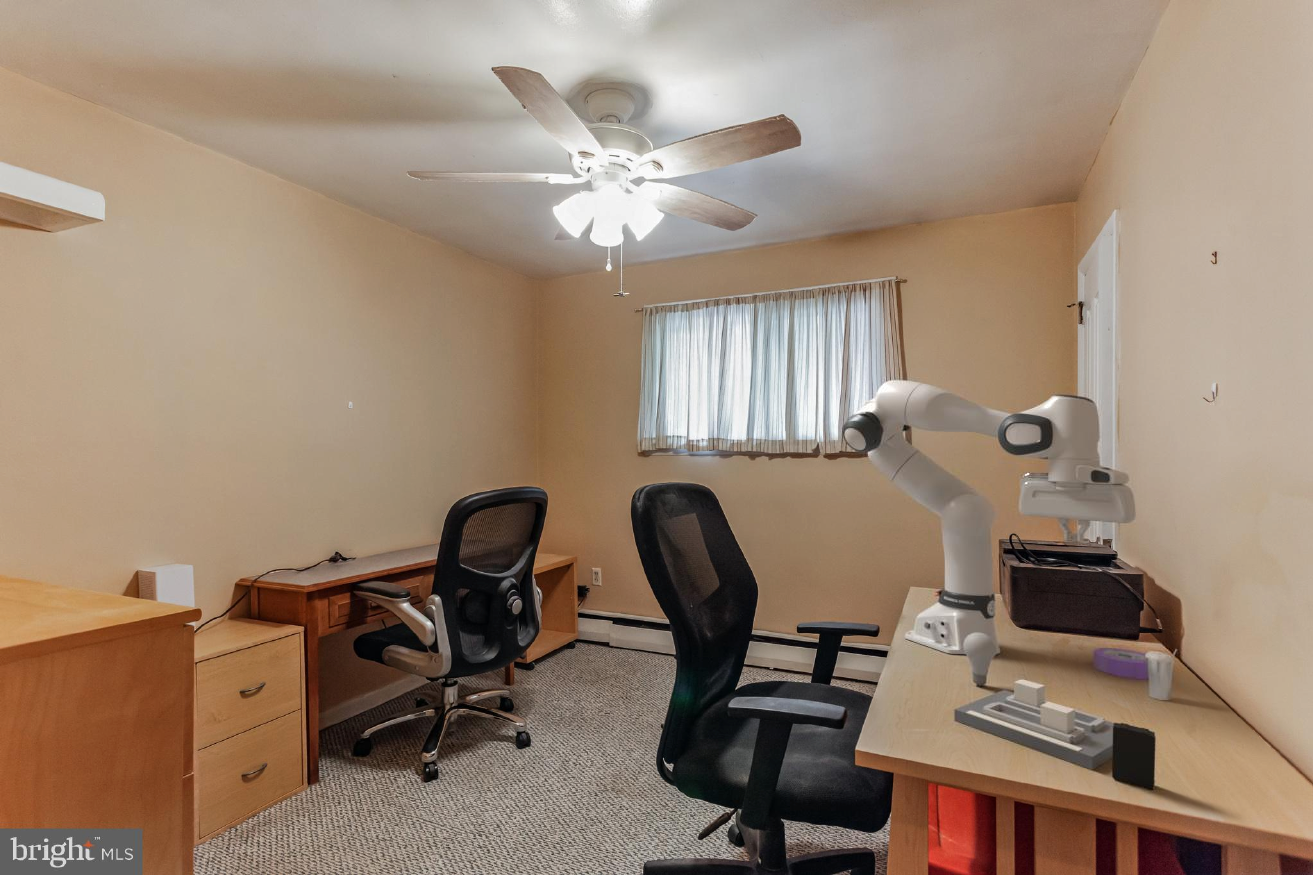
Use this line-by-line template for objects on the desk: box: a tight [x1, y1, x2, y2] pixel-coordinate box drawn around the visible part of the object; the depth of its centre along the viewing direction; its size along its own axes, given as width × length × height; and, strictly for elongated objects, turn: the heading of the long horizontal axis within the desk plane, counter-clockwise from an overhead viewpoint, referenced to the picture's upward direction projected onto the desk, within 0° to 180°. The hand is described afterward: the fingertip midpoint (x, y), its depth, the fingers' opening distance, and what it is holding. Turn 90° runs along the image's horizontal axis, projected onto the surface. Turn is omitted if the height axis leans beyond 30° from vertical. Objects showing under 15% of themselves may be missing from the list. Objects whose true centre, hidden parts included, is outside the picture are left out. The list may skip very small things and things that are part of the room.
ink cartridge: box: [1111, 722, 1157, 791], centre depth 94 cm, size 5×2×8 cm, turn 50°
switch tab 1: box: [1013, 678, 1046, 709], centre depth 117 cm, size 4×3×4 cm
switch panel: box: [953, 689, 1114, 771], centre depth 112 cm, size 22×18×3 cm
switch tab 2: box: [1041, 701, 1076, 734], centre depth 106 cm, size 4×3×4 cm
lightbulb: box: [963, 633, 996, 687], centre depth 134 cm, size 6×6×11 cm
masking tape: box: [1093, 647, 1148, 680], centre depth 146 cm, size 12×12×4 cm
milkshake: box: [1145, 648, 1178, 701], centre depth 129 cm, size 4×5×10 cm
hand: (1073, 541), depth 129 cm, fingers closed
